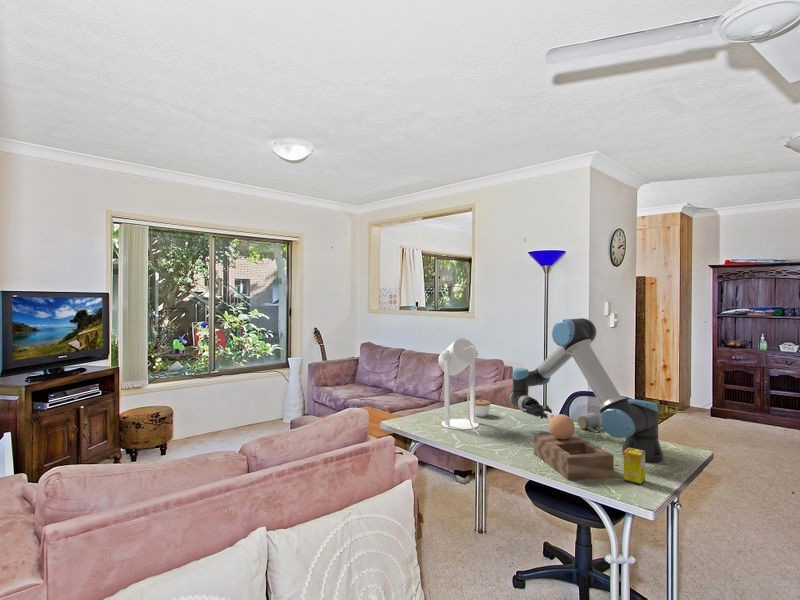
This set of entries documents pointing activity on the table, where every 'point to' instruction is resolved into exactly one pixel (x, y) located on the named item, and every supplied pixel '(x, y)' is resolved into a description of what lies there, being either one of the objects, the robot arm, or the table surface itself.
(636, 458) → the supplement box
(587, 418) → the ceramic mug
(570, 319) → the robot arm
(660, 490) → the table surface
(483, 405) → the lidded jar
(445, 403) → the desk lamp
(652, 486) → the table surface
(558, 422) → the ball
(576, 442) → the walnut stand
